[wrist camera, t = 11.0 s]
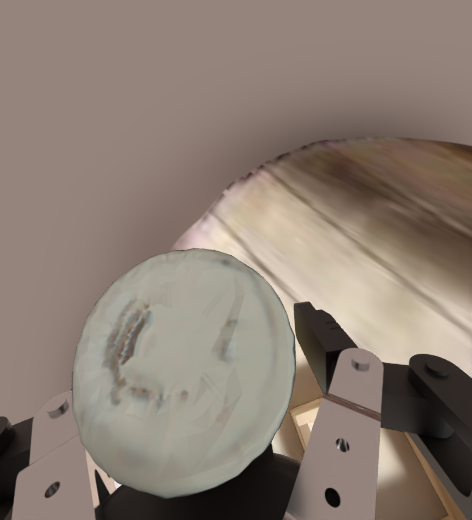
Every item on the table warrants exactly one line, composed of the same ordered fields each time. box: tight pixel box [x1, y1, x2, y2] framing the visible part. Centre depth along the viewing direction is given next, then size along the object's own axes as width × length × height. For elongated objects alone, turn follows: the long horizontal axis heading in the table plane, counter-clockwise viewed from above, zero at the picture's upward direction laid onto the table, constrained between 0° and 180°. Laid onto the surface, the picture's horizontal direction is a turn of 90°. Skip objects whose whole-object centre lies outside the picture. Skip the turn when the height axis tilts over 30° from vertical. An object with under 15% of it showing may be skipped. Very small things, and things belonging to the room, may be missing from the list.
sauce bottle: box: [72, 248, 296, 499], centre depth 13 cm, size 7×6×20 cm
